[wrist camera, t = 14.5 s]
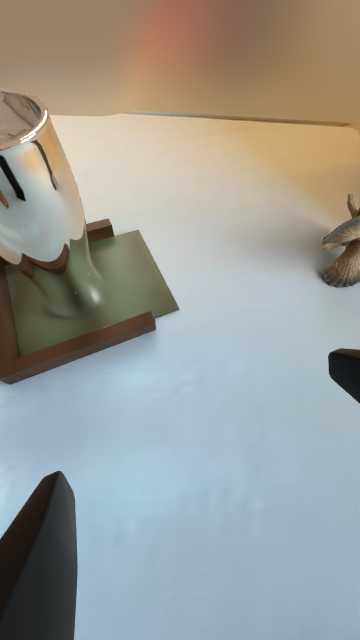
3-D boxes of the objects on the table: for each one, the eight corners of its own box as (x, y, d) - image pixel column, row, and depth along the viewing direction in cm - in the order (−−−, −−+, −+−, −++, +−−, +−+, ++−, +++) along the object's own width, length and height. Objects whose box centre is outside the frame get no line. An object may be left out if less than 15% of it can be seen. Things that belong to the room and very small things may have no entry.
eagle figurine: (314, 213, 31) (298, 245, 26) (382, 174, 26) (380, 205, 21) (341, 260, 33) (332, 299, 28) (410, 233, 28) (414, 275, 23)
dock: (135, 224, 30) (133, 212, 29) (184, 319, 25) (185, 310, 23) (-8, 261, 26) (-19, 249, 25) (9, 384, 21) (-3, 379, 19)
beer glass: (26, 315, 24) (-151, 141, 10) (56, 260, 27) (-48, 75, 14) (96, 329, 23) (7, 169, 10) (118, 272, 27) (73, 95, 13)
